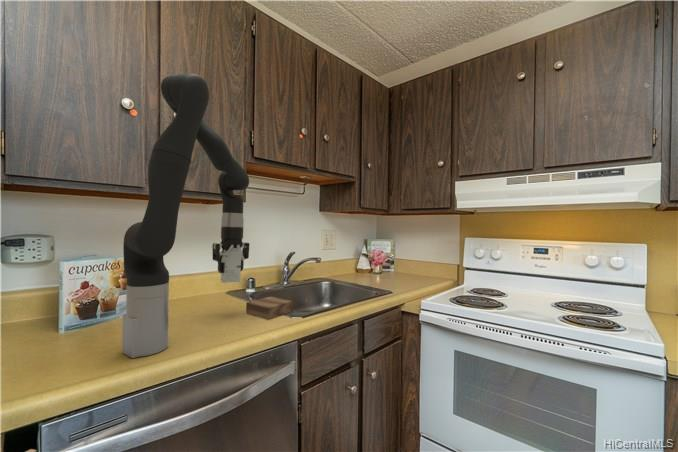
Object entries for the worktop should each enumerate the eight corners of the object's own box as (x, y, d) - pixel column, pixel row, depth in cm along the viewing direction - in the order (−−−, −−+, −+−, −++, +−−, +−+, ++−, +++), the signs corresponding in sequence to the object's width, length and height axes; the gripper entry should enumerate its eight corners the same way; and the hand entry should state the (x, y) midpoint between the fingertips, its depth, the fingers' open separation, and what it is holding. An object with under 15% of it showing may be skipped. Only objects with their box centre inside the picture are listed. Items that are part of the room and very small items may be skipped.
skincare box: (222, 283, 100) (224, 248, 100) (220, 281, 104) (221, 247, 104) (241, 281, 104) (242, 248, 104) (237, 279, 107) (238, 247, 107)
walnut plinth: (268, 319, 100) (268, 308, 100) (246, 313, 107) (246, 302, 107) (292, 311, 110) (292, 301, 110) (270, 306, 117) (270, 296, 117)
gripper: (220, 225, 96) (219, 275, 96) (255, 226, 108) (253, 270, 108) (207, 225, 100) (206, 273, 100) (242, 226, 112) (241, 269, 112)
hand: (231, 271), depth 104 cm, fingers closed on skincare box, 7 cm apart
